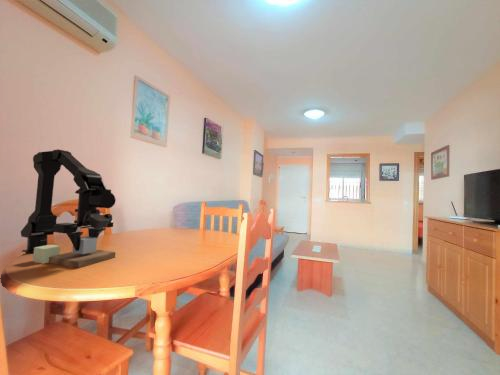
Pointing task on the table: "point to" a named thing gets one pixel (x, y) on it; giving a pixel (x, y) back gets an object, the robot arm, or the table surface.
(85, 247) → the slate block
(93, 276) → the table surface
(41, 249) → the sage block
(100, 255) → the walnut base
